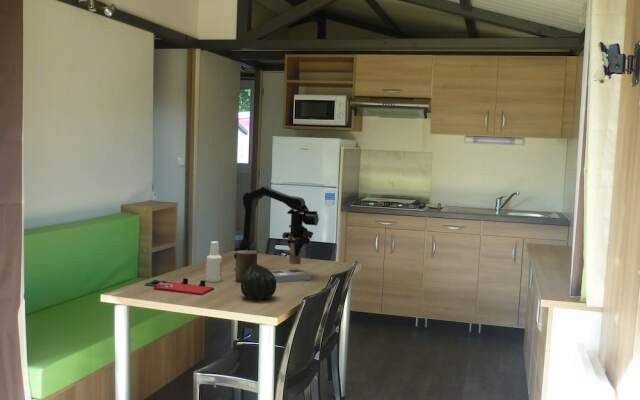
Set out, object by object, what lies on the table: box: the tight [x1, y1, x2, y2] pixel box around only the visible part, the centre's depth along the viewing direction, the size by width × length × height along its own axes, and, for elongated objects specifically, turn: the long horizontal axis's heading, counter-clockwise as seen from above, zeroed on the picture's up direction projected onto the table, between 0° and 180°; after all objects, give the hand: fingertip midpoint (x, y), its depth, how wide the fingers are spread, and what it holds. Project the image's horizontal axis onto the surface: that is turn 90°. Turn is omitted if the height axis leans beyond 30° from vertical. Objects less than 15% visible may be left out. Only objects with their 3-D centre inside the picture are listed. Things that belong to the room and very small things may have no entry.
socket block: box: [269, 268, 311, 284], centre depth 284 cm, size 18×13×3 cm
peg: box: [289, 243, 302, 265], centre depth 287 cm, size 4×4×10 cm
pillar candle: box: [235, 250, 258, 283], centre depth 274 cm, size 10×10×15 cm
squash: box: [240, 263, 277, 301], centre depth 245 cm, size 14×15×15 cm
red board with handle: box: [145, 278, 215, 296], centre depth 256 cm, size 30×3×15 cm
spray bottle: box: [205, 240, 223, 283], centre depth 272 cm, size 7×7×18 cm
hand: (295, 255), depth 287 cm, fingers closed on peg, 4 cm apart
